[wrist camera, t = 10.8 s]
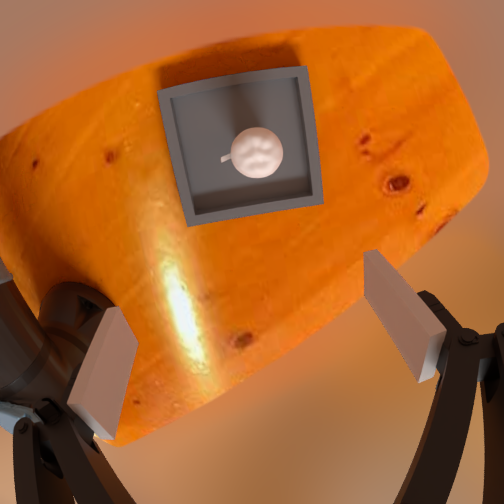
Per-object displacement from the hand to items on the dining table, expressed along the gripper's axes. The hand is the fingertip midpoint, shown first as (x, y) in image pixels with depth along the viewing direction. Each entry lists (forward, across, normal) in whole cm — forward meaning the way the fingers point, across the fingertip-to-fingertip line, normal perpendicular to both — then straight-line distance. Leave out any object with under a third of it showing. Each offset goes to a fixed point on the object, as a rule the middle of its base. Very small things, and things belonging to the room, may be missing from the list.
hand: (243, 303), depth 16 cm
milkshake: (+22, +3, +5) cm, 23 cm away
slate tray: (+23, +2, +5) cm, 24 cm away
